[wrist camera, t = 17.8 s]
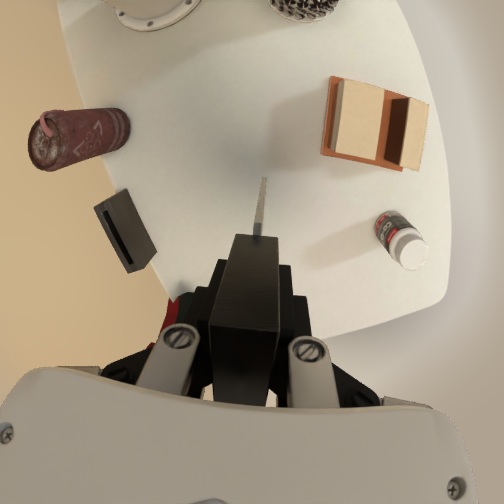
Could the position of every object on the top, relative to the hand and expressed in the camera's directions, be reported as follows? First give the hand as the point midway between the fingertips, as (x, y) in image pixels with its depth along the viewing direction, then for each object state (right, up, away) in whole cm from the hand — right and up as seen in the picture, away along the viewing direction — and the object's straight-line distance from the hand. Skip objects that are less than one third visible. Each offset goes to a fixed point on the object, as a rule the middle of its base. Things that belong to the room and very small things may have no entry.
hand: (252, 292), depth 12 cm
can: (-19, +19, +19) cm, 33 cm away
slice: (+18, +17, +16) cm, 29 cm away
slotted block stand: (+14, +17, +17) cm, 28 cm away
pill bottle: (+19, +5, +23) cm, 30 cm away
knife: (+1, +3, +7) cm, 8 cm away
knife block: (-17, +6, +25) cm, 31 cm away
